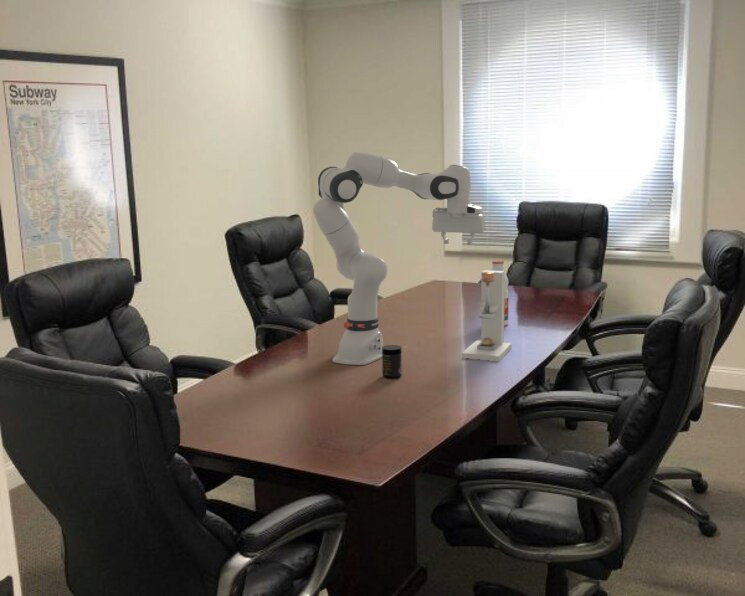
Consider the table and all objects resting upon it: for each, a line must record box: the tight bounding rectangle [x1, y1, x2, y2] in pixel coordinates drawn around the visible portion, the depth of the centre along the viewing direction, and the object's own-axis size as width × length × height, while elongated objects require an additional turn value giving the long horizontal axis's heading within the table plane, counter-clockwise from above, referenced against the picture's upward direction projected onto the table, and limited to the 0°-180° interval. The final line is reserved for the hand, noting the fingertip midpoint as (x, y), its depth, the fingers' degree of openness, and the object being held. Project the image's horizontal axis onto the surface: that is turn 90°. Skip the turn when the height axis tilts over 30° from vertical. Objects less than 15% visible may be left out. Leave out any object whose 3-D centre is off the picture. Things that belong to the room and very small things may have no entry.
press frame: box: [461, 269, 513, 362], centre depth 300 cm, size 20×14×30 cm
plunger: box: [478, 271, 496, 319], centre depth 298 cm, size 6×6×17 cm
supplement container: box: [381, 344, 403, 380], centre depth 274 cm, size 7×7×10 cm
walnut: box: [482, 338, 493, 347], centre depth 302 cm, size 4×4×4 cm
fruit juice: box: [491, 259, 510, 327], centre depth 346 cm, size 9×9×28 cm
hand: (458, 244), depth 307 cm, fingers open, 8 cm apart
